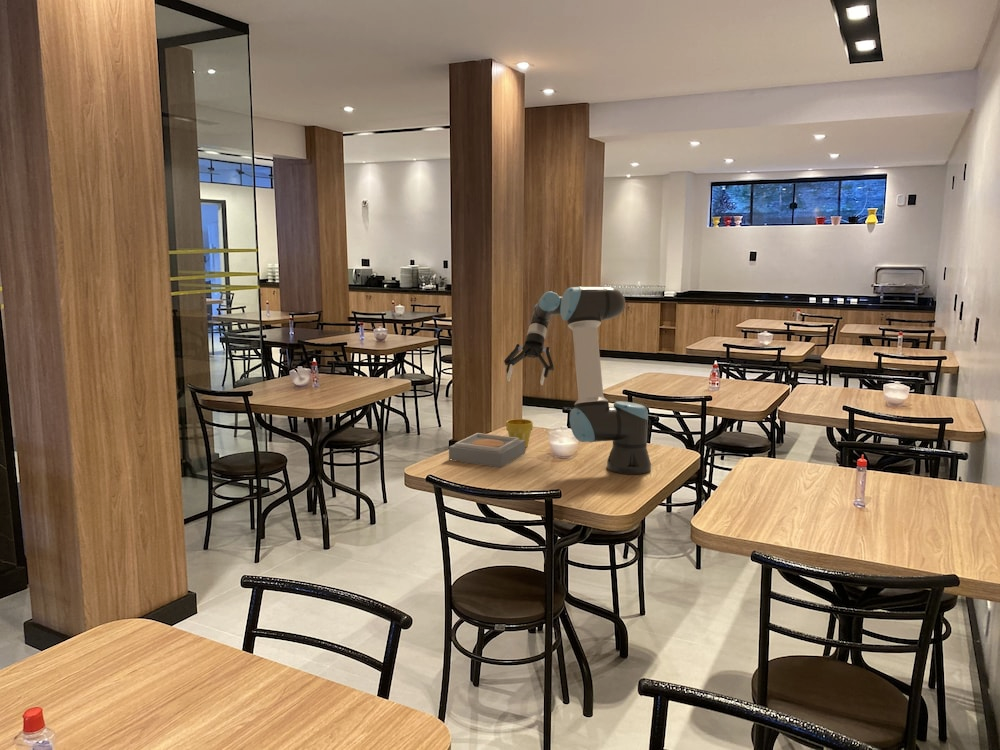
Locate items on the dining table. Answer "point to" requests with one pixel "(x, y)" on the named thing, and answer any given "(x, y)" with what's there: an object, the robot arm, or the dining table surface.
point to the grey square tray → (487, 449)
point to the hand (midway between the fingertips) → (524, 381)
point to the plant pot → (520, 429)
